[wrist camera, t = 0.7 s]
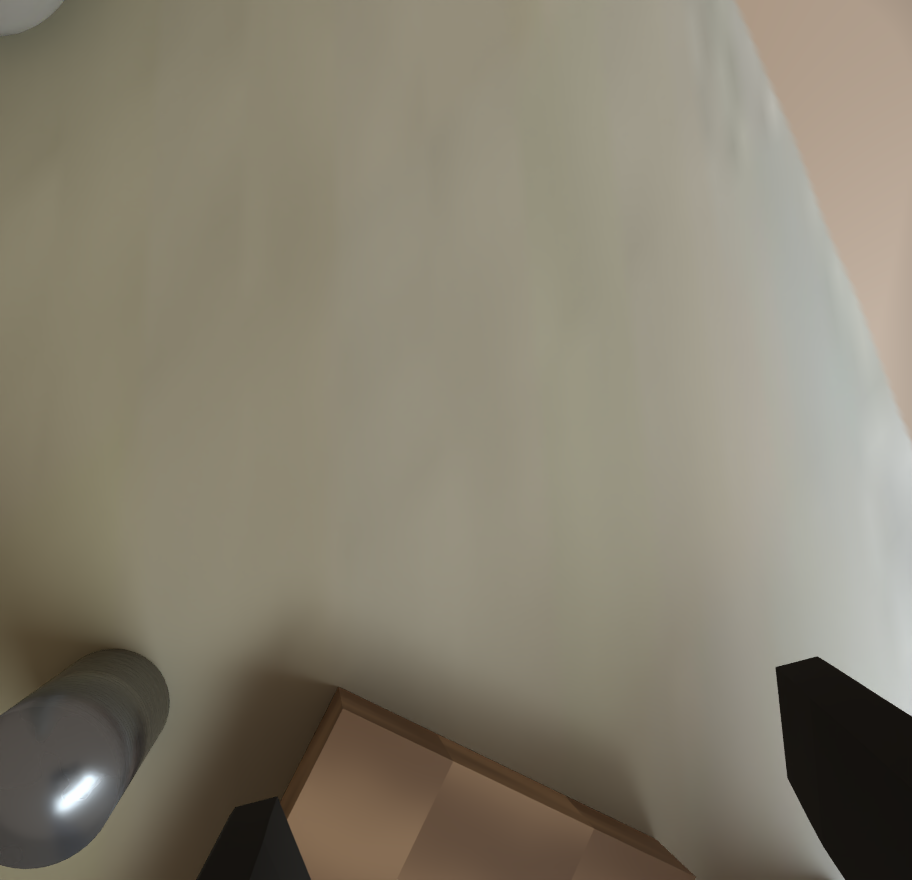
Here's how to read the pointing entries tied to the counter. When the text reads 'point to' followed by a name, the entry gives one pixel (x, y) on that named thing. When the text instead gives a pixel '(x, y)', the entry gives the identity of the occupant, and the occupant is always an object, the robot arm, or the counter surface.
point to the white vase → (24, 14)
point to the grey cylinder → (75, 754)
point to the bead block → (444, 812)
